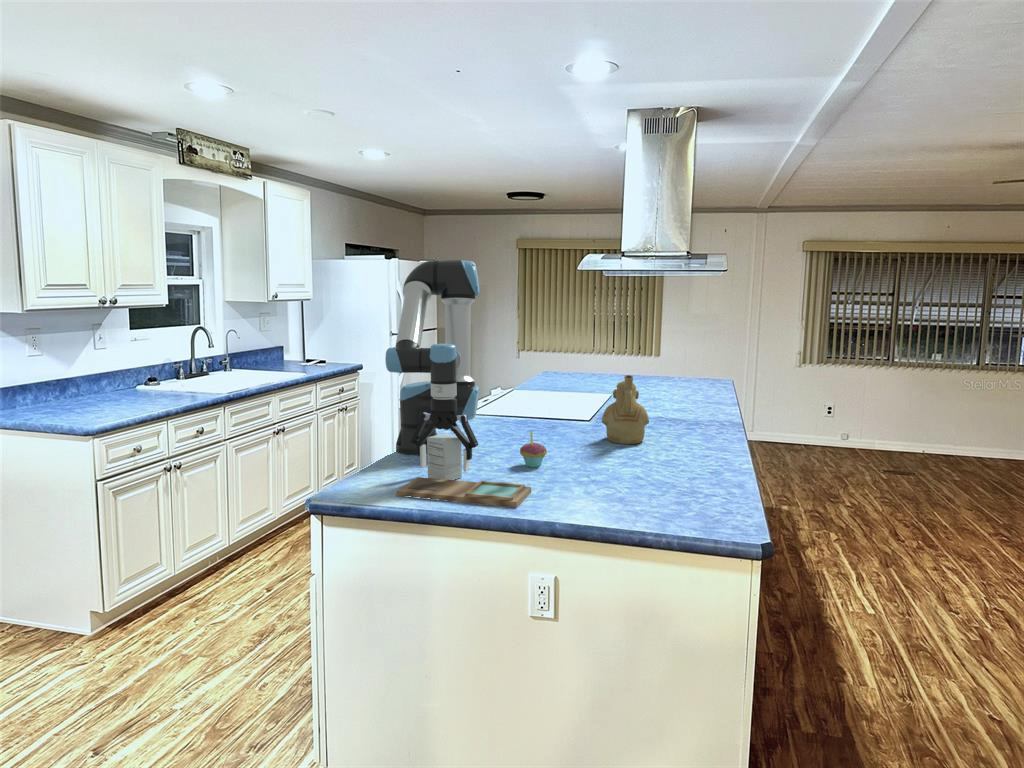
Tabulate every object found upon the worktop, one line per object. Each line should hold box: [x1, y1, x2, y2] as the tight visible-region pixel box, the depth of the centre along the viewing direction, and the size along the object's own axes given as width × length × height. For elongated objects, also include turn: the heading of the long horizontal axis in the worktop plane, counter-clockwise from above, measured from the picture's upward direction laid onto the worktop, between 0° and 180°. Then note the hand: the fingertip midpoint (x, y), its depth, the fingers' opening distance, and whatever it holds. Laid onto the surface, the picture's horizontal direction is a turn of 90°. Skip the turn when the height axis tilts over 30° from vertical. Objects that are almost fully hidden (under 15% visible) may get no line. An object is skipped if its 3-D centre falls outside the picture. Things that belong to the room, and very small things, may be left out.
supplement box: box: [426, 432, 463, 480], centre depth 208 cm, size 7×7×13 cm
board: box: [395, 476, 532, 509], centre depth 193 cm, size 34×14×2 cm, turn 73°
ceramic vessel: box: [601, 374, 650, 445], centre depth 256 cm, size 17×20×25 cm
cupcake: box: [519, 429, 548, 468], centre depth 223 cm, size 9×8×12 cm
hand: (444, 468), depth 208 cm, fingers open, 13 cm apart
